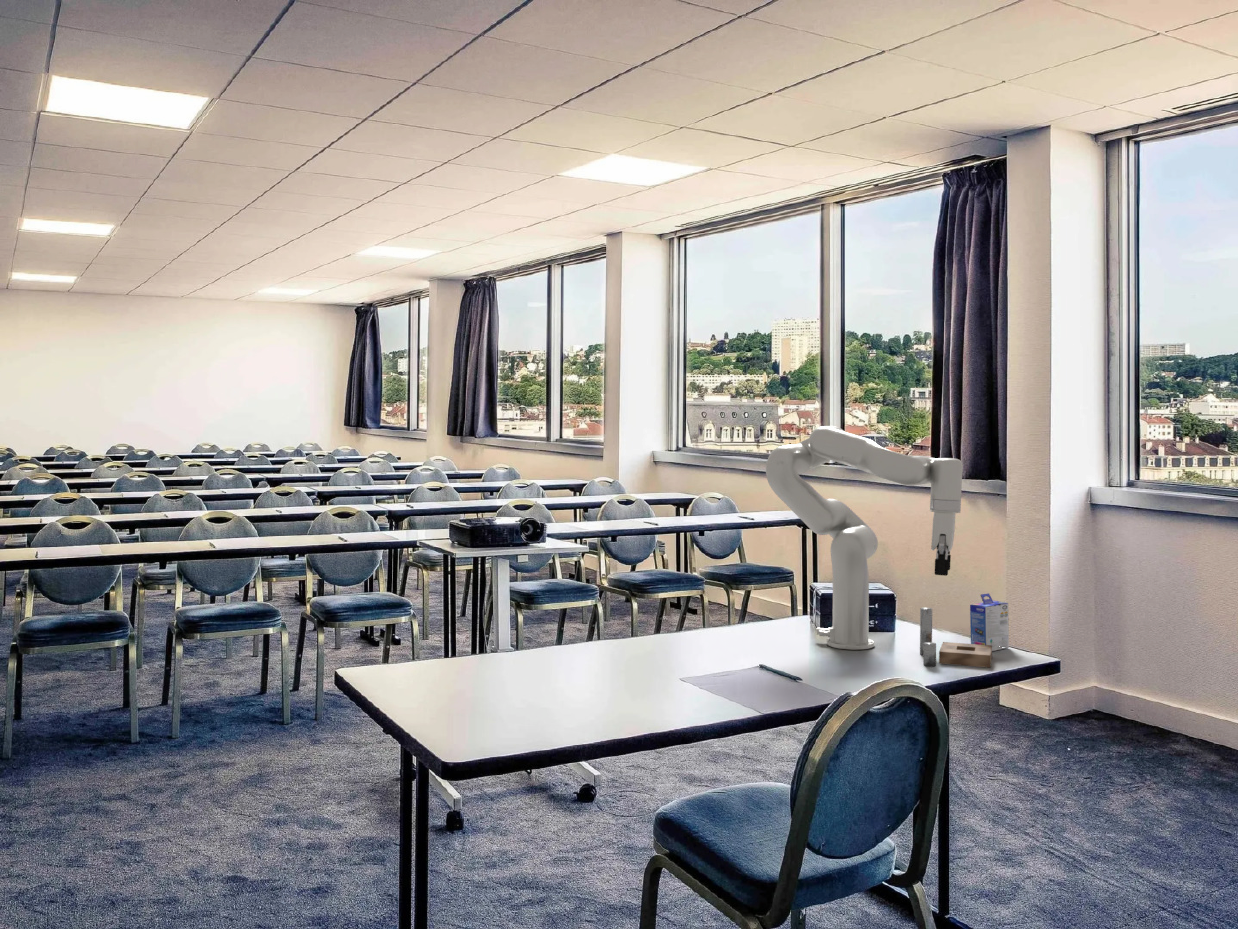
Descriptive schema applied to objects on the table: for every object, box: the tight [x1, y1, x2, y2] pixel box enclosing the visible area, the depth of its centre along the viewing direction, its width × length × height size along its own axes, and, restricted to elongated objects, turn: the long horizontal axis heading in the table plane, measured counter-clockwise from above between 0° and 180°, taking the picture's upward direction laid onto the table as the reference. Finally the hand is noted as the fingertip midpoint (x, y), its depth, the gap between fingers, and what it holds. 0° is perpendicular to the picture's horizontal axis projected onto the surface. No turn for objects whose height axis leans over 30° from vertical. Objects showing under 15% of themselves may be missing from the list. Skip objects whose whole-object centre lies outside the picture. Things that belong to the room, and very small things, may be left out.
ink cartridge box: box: [969, 593, 1010, 652], centre depth 275 cm, size 10×6×14 cm, turn 124°
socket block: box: [938, 641, 993, 668], centre depth 262 cm, size 12×12×3 cm
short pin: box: [922, 641, 937, 668], centre depth 256 cm, size 3×3×6 cm
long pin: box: [919, 607, 933, 656], centre depth 268 cm, size 3×3×12 cm
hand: (942, 572), depth 267 cm, fingers open, 9 cm apart
